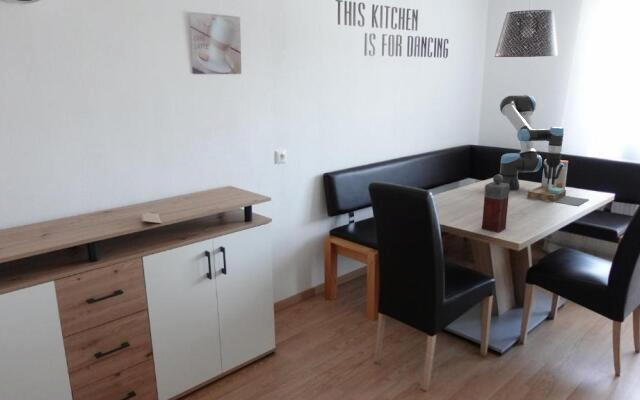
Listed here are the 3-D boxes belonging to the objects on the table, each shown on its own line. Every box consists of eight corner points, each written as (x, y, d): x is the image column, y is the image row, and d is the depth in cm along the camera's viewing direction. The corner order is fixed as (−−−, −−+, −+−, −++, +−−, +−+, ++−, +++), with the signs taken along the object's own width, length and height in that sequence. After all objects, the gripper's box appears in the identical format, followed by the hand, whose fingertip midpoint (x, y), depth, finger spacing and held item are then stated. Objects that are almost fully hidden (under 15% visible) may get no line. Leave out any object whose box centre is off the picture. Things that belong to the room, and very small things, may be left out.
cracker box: (564, 191, 318) (568, 160, 312) (563, 193, 313) (567, 161, 307) (541, 188, 325) (545, 158, 320) (540, 190, 320) (544, 159, 315)
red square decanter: (507, 227, 244) (512, 173, 237) (498, 232, 236) (503, 177, 229) (490, 223, 250) (495, 171, 243) (481, 229, 242) (485, 174, 235)
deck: (527, 197, 302) (528, 191, 301) (539, 192, 316) (540, 186, 315) (553, 201, 292) (554, 195, 291) (565, 196, 305) (566, 190, 304)
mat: (553, 201, 292) (553, 201, 291) (565, 196, 305) (565, 195, 305) (578, 206, 282) (578, 205, 282) (589, 199, 296) (589, 199, 296)
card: (548, 192, 298) (548, 189, 298) (554, 190, 304) (554, 187, 304) (558, 194, 294) (559, 191, 293) (564, 191, 300) (564, 188, 299)
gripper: (541, 151, 297) (537, 188, 303) (563, 154, 288) (558, 192, 294) (545, 150, 302) (542, 186, 308) (567, 152, 293) (563, 190, 299)
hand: (550, 189), depth 301 cm, fingers closed
